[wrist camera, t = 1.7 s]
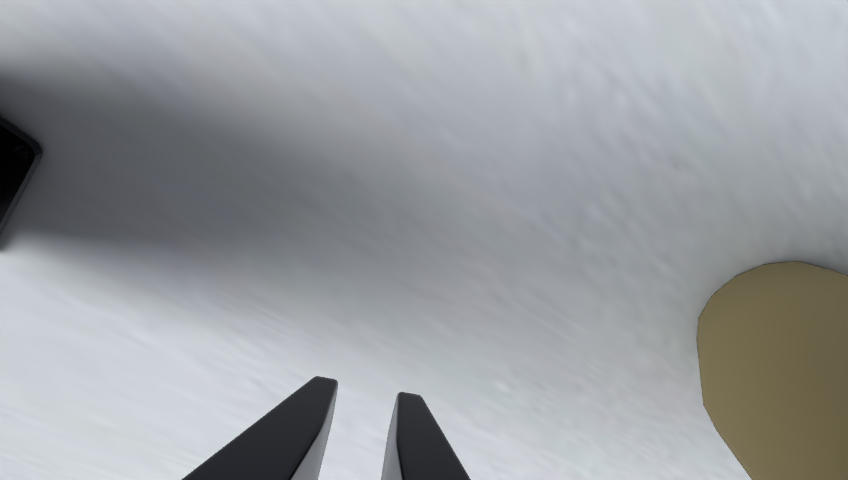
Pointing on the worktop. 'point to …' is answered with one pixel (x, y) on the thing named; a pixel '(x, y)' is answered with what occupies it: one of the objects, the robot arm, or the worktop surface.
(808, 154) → the worktop surface
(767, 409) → the squeeze bottle
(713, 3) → the worktop surface
